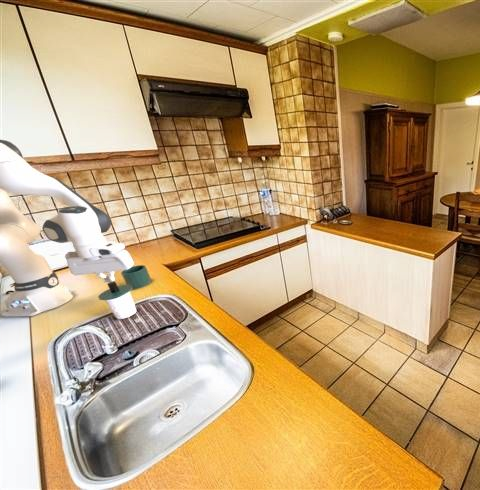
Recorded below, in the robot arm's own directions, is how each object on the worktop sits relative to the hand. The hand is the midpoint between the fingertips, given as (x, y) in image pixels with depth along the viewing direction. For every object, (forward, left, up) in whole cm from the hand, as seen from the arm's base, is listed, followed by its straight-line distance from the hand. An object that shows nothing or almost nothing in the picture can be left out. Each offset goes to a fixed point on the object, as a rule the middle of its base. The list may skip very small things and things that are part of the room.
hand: (110, 281), depth 105 cm
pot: (-11, +27, -16) cm, 33 cm away
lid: (0, 0, -6) cm, 6 cm away
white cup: (0, 0, -16) cm, 16 cm away
